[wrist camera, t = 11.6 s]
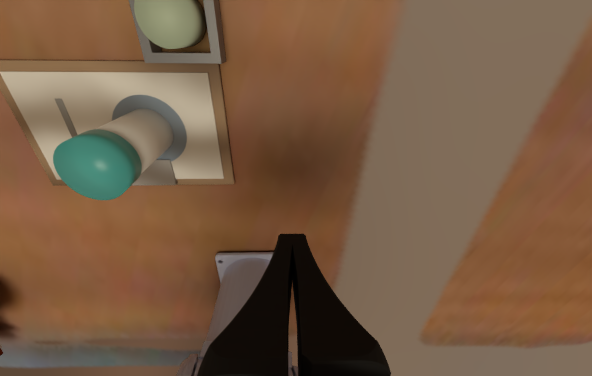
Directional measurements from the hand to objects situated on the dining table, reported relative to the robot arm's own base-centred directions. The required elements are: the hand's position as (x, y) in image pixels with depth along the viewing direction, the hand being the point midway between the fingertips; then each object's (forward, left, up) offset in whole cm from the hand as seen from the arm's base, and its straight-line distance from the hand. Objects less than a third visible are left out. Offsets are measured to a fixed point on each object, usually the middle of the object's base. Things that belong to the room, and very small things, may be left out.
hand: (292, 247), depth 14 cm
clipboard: (+3, +13, -10) cm, 17 cm away
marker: (+3, +11, -10) cm, 15 cm away
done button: (+11, +7, -10) cm, 16 cm away
